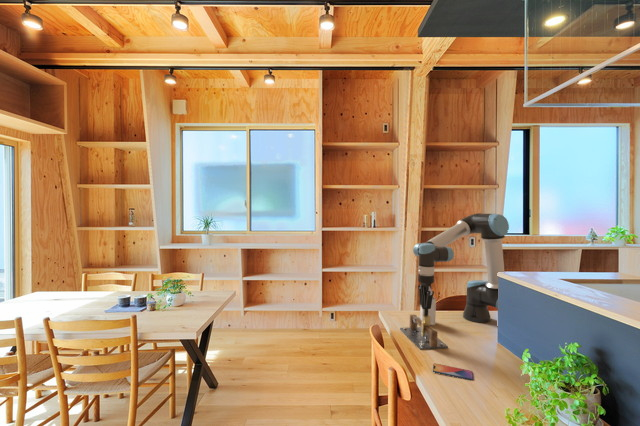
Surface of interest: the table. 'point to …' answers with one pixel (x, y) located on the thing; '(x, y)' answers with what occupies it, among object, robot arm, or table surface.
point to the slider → (425, 323)
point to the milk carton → (430, 312)
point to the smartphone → (453, 371)
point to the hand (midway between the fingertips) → (424, 321)
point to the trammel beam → (432, 333)
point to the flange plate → (421, 339)
